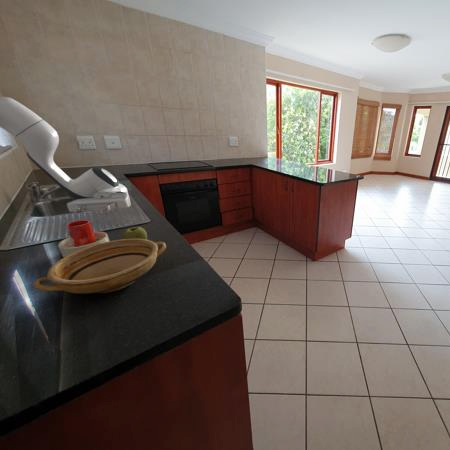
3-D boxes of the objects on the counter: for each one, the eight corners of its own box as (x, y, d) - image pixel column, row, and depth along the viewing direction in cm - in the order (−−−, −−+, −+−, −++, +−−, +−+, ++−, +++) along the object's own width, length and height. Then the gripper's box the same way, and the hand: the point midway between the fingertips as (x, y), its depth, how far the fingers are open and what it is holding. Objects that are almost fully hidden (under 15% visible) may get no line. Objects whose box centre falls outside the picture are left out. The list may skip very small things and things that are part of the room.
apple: (124, 253, 84) (118, 235, 81) (127, 244, 90) (122, 226, 87) (148, 248, 87) (144, 231, 84) (150, 240, 93) (145, 223, 91)
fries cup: (72, 254, 81) (62, 227, 78) (82, 246, 87) (72, 220, 83) (93, 251, 83) (84, 225, 79) (101, 244, 88) (92, 219, 85)
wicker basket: (51, 333, 51) (35, 304, 48) (39, 287, 66) (27, 262, 63) (185, 274, 72) (181, 251, 69) (154, 249, 87) (149, 229, 83)
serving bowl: (53, 262, 77) (48, 250, 76) (75, 244, 89) (71, 233, 87) (101, 257, 81) (97, 245, 79) (116, 240, 93) (113, 230, 91)
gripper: (75, 194, 99) (55, 204, 87) (131, 191, 105) (120, 200, 93) (80, 208, 101) (61, 220, 89) (135, 205, 107) (124, 215, 95)
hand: (91, 209), depth 91 cm, fingers open, 8 cm apart
